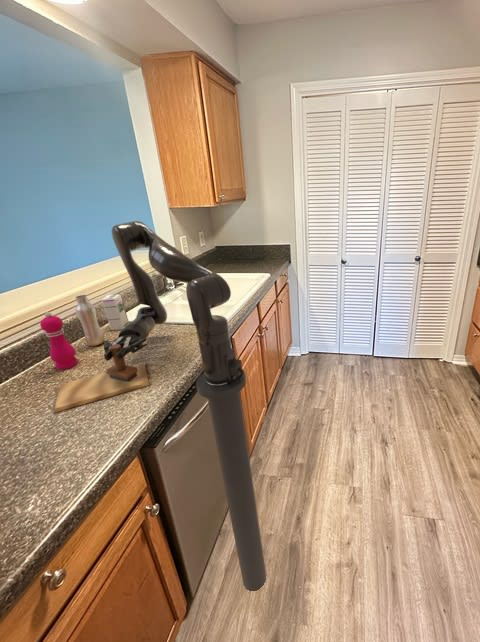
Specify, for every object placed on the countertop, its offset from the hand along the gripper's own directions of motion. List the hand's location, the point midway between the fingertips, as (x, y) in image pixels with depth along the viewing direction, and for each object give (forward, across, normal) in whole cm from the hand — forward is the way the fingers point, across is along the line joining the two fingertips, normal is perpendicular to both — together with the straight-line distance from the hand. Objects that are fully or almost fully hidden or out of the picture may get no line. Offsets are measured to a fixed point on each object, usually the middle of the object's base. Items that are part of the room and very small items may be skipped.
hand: (112, 357), depth 96 cm
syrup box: (-48, -21, +10) cm, 54 cm away
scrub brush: (-3, 0, +9) cm, 9 cm away
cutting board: (0, -5, +10) cm, 11 cm away
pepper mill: (-16, -26, +10) cm, 32 cm away
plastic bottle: (-32, -24, +10) cm, 41 cm away
